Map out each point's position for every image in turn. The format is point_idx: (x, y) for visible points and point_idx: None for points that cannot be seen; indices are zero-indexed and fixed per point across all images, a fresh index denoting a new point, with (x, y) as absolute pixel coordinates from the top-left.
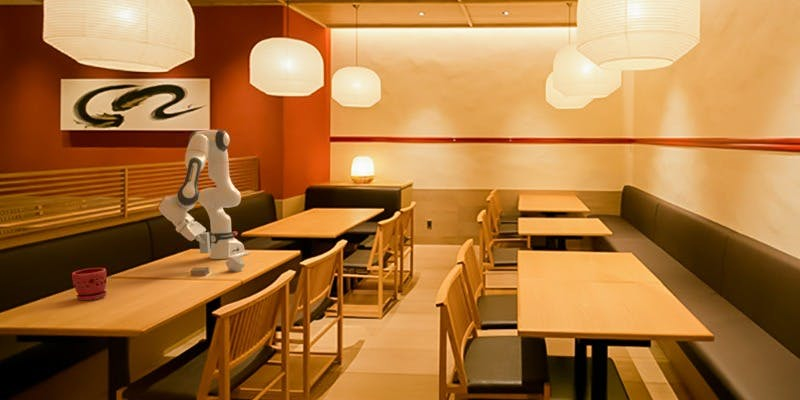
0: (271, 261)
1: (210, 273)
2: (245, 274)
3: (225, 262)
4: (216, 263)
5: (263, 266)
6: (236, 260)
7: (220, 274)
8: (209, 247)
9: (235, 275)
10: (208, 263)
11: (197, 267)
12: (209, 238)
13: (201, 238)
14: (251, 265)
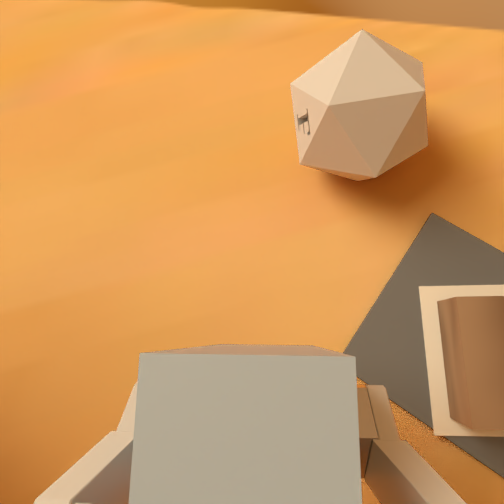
0: (50, 20)
1: (452, 289)
2: (454, 56)
3: (377, 175)
4: (29, 361)
5: (201, 22)
6: (416, 67)
7: (453, 216)
8: (239, 345)
9: (488, 107)
10: (13, 428)
11: (474, 402)
12: (190, 348)
13: (418, 467)
14: (155, 99)
